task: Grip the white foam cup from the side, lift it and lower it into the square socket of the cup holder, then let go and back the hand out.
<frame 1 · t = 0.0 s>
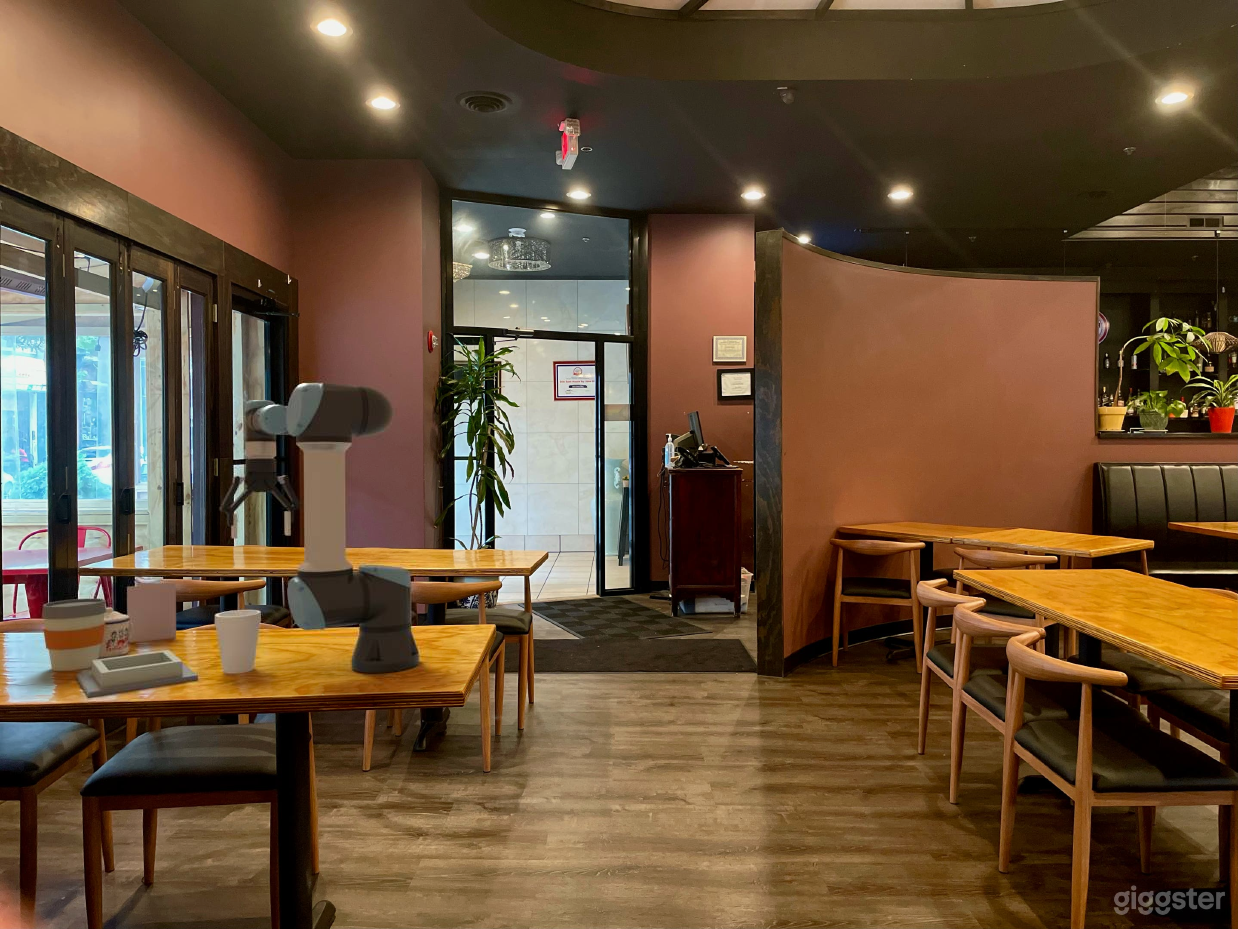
hand: (261, 536, 213), 28 cm above the table, tool pointing down, fingers open, 13 cm apart
foam cup: (238, 671, 180), on the table
teacup with lid: (113, 653, 200), on the table
reusable coffee cup: (74, 667, 186), on the table
cup holder: (136, 679, 174), on the table
greeting card: (149, 640, 215), on the table
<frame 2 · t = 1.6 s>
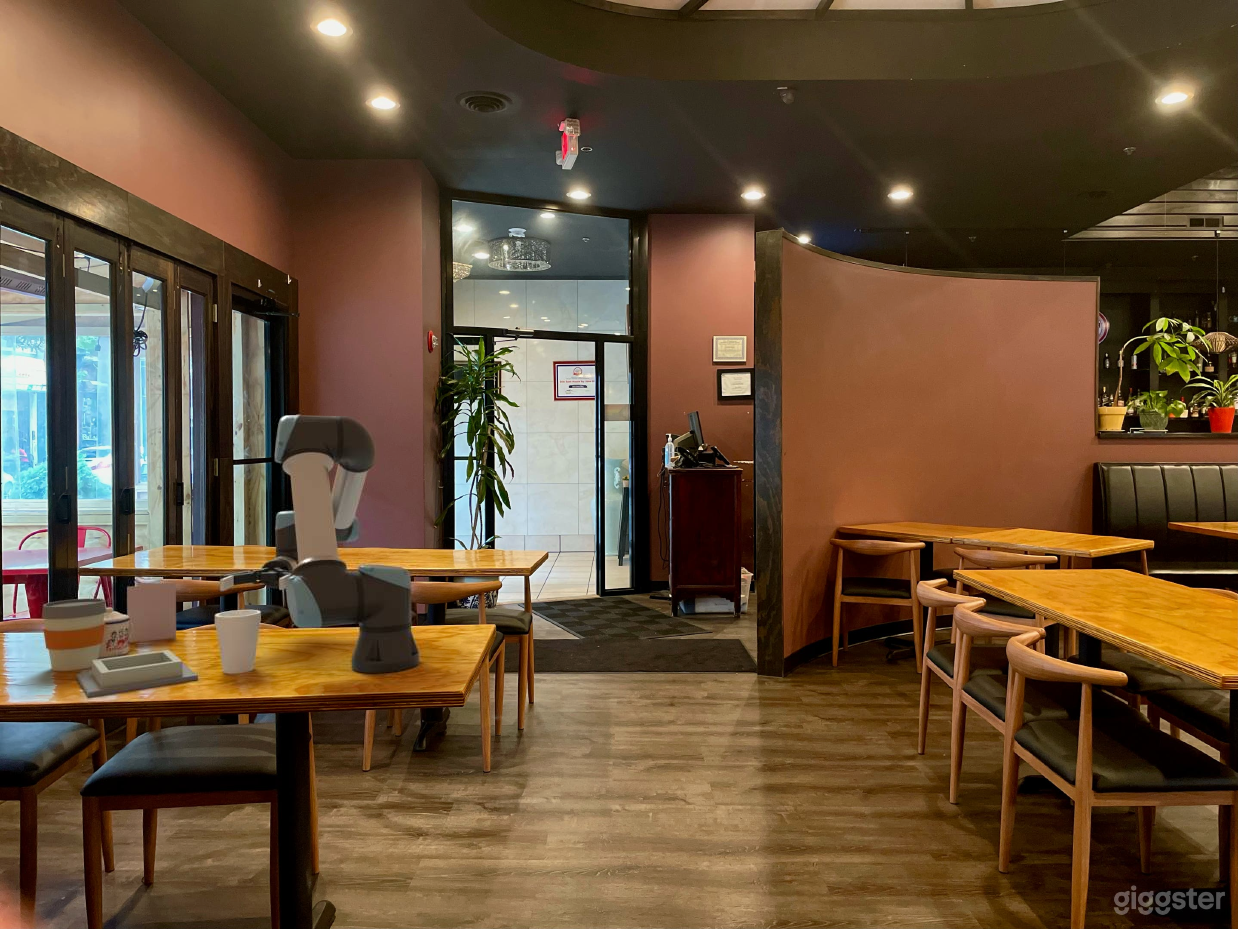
hand: (251, 584, 190), 18 cm above the table, tool horizontal, fingers open, 13 cm apart
nothing on the table moved.
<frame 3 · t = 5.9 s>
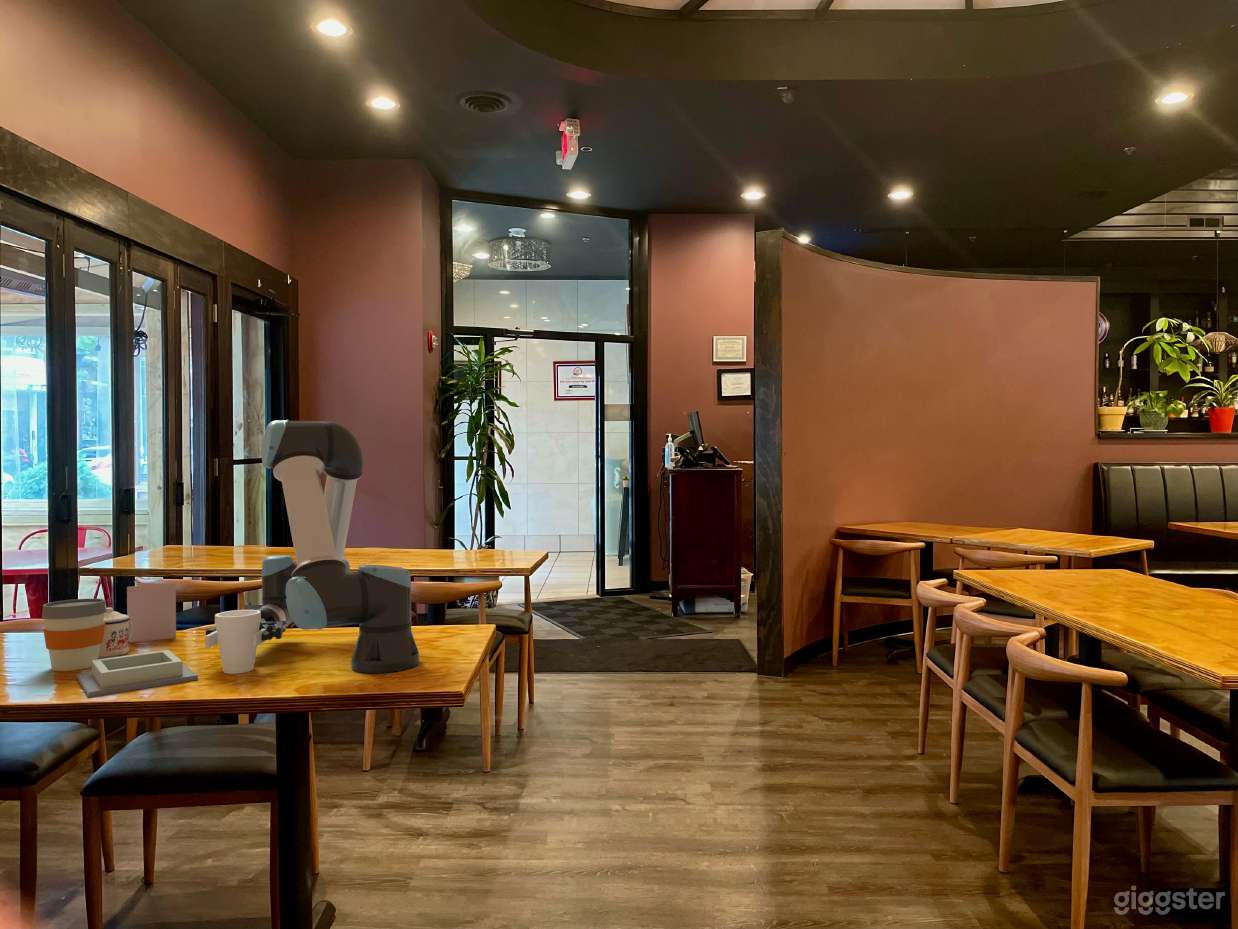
hand: (230, 641, 176), 8 cm above the table, tool horizontal, fingers closed on foam cup, 9 cm apart
foam cup: (238, 671, 180), on the table, touching gripper
everything else where it was.
when the fingers open (10 cm above the table, at t = 11.4 s): foam cup drops 1 cm, resting on cup holder.
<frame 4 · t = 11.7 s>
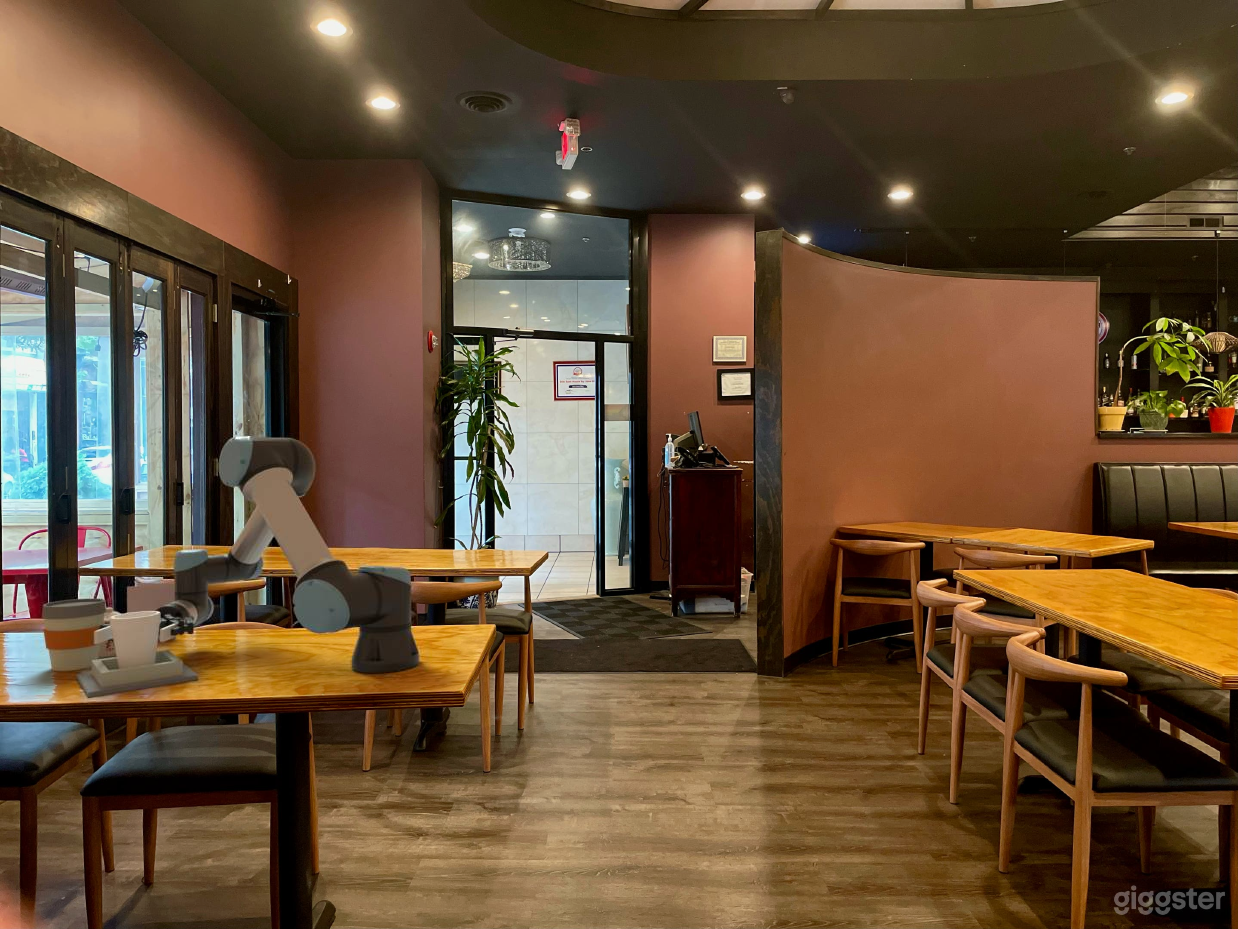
hand: (128, 636, 170), 10 cm above the table, tool horizontal, fingers open, 13 cm apart
foam cup: (137, 674, 174), point 1 cm above the table, touching cup holder
everything else where it was.
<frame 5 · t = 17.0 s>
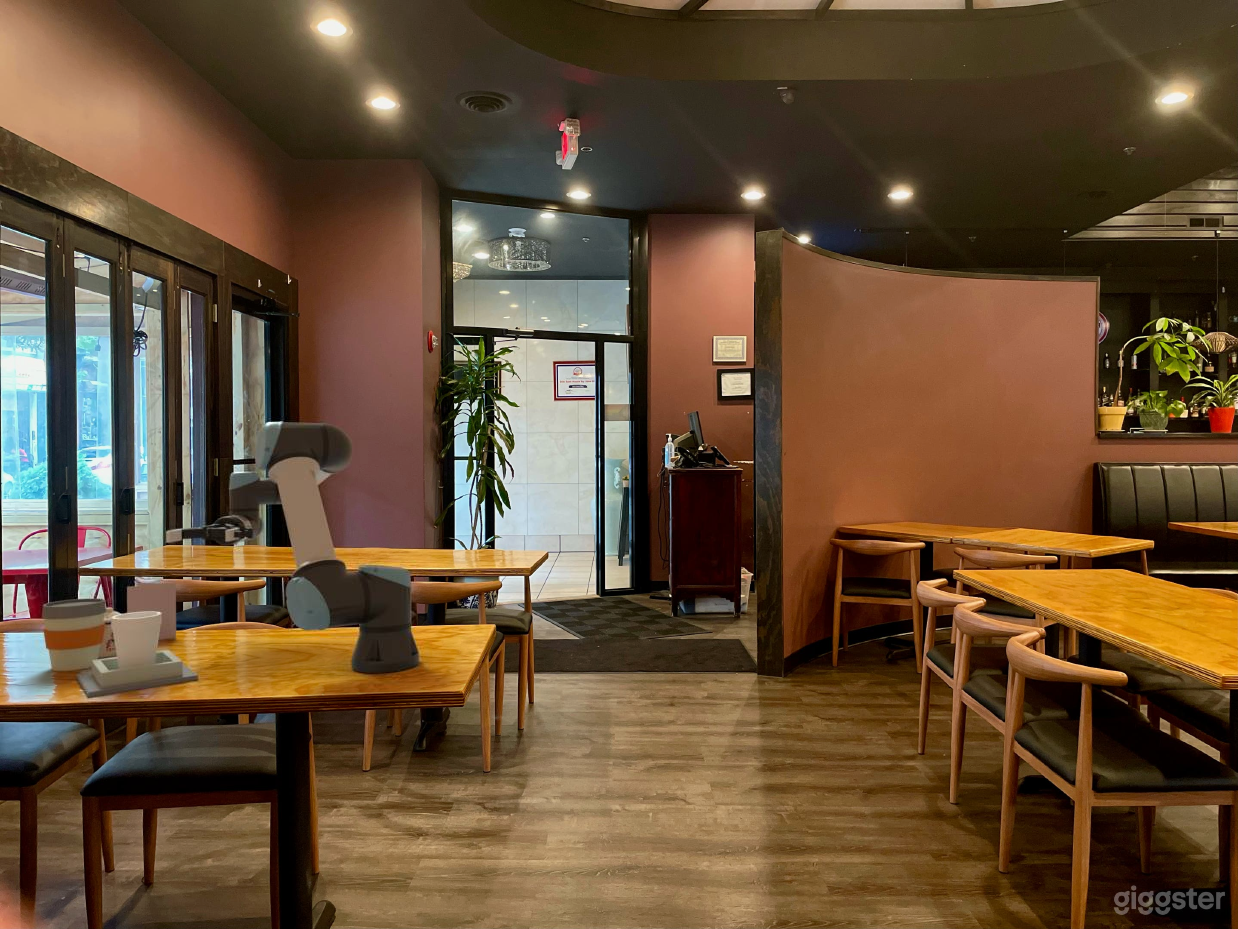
hand: (197, 536, 190), 30 cm above the table, tool horizontal, fingers open, 13 cm apart
nothing on the table moved.
at the end: foam cup 0.1 cm off-centre on the cup holder, point 0.8 cm above the cup holder's base; foam cup tilted 0°; the gripper is holding nothing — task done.
